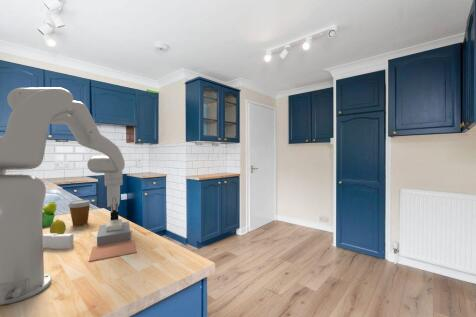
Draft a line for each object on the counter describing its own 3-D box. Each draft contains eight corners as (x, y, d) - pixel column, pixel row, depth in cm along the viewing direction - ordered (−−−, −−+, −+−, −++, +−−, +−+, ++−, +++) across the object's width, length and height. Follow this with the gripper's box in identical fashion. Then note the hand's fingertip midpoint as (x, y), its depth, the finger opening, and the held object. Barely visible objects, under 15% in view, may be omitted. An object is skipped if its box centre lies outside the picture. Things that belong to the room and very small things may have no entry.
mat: (136, 252, 84) (136, 251, 84) (88, 262, 77) (88, 260, 77) (134, 240, 96) (134, 239, 96) (92, 247, 89) (92, 246, 89)
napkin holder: (81, 246, 91) (81, 232, 91) (46, 257, 82) (45, 242, 82) (66, 239, 100) (66, 226, 99) (32, 248, 90) (32, 234, 90)
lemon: (57, 240, 97) (56, 221, 96) (46, 239, 98) (46, 221, 97) (69, 235, 102) (68, 218, 102) (59, 234, 103) (58, 217, 103)
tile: (122, 229, 99) (122, 224, 99) (106, 231, 96) (106, 226, 96) (121, 223, 107) (121, 219, 106) (107, 225, 104) (107, 221, 104)
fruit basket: (34, 223, 120) (33, 202, 120) (55, 219, 126) (55, 199, 126) (35, 228, 112) (35, 206, 111) (58, 224, 118) (57, 203, 118)
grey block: (130, 241, 95) (130, 231, 95) (97, 247, 90) (96, 237, 90) (129, 229, 109) (128, 221, 109) (100, 234, 104) (99, 225, 104)
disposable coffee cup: (88, 226, 115) (88, 202, 115) (66, 228, 111) (65, 204, 111) (93, 220, 124) (92, 199, 123) (72, 222, 120) (71, 200, 120)
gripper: (105, 180, 113) (106, 217, 113) (103, 184, 99) (104, 226, 100) (122, 179, 116) (123, 215, 117) (122, 183, 103) (123, 223, 103)
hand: (114, 220), depth 108 cm, fingers closed
